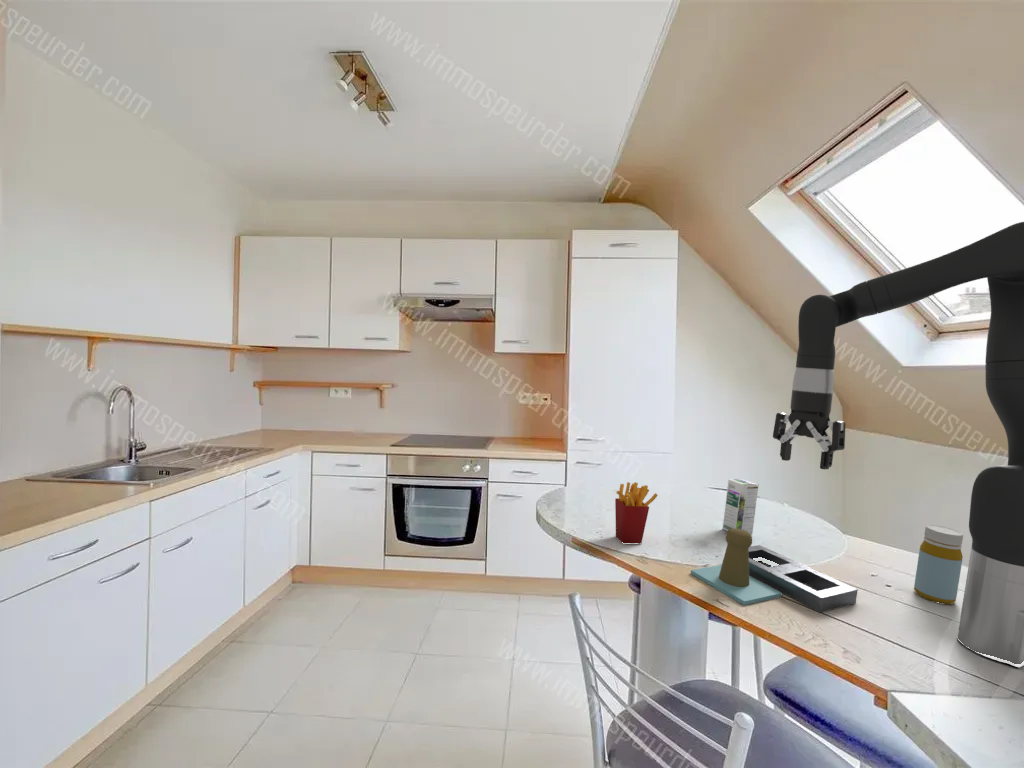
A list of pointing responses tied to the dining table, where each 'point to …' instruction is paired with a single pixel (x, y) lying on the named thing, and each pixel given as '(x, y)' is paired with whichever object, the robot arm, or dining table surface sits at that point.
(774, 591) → the board
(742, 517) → the syrup box
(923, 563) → the bottle
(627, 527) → the french fries
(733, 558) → the cork
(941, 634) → the dining table surface
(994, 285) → the robot arm
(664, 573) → the dining table surface
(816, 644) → the dining table surface
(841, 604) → the two-slot holder tray
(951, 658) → the dining table surface
